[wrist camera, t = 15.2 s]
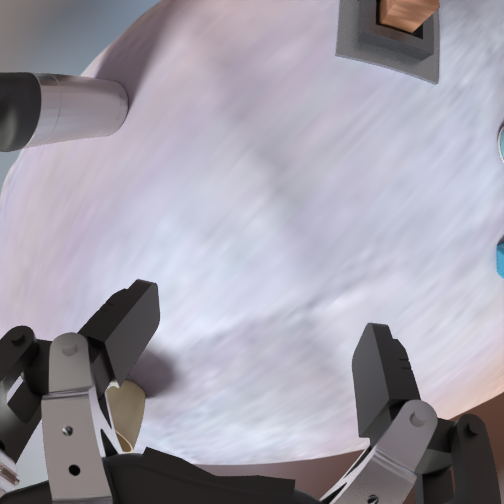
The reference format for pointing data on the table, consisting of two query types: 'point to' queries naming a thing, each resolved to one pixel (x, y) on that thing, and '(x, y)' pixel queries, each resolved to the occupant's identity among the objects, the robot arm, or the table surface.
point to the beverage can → (501, 144)
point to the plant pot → (126, 413)
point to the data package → (500, 259)
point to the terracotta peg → (405, 13)
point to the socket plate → (387, 41)
